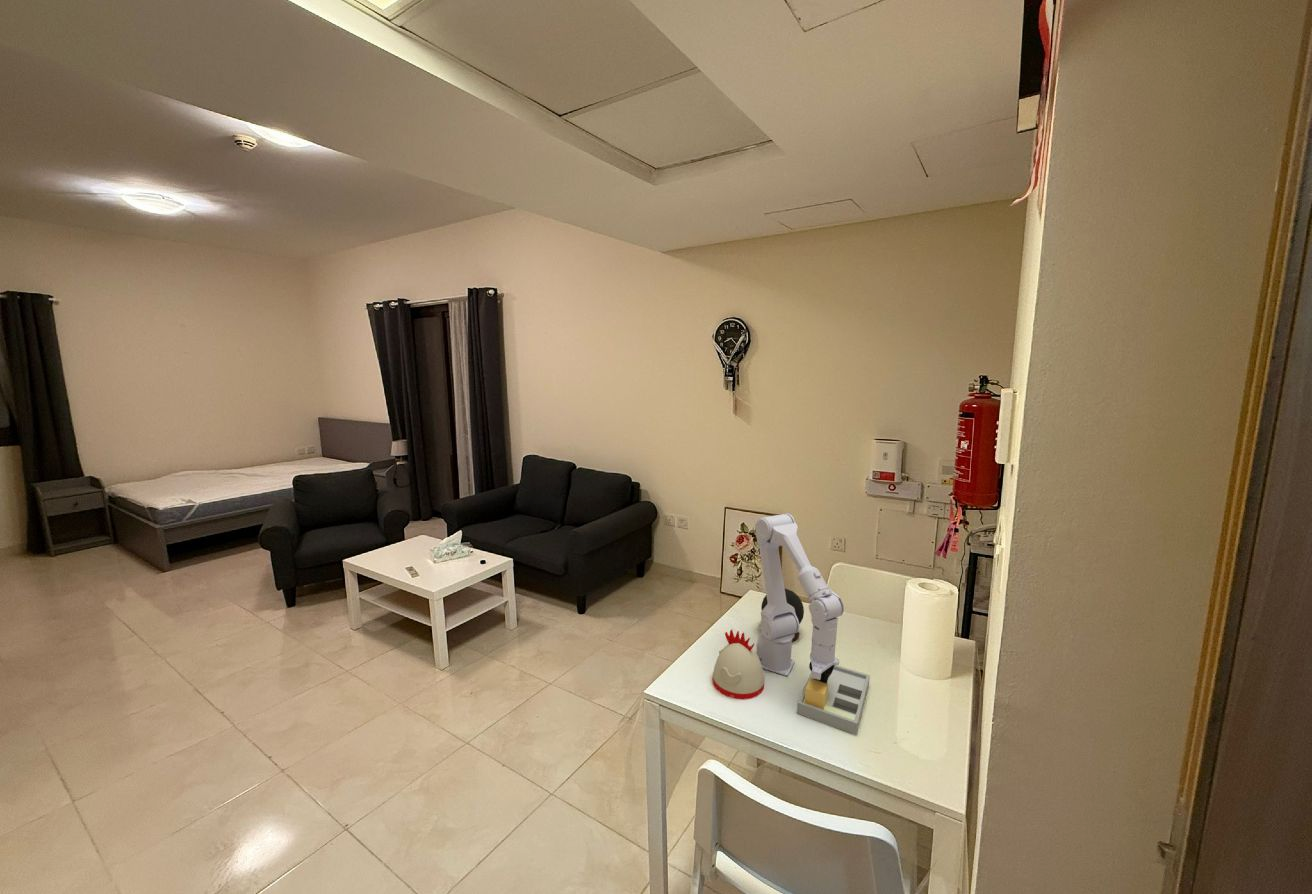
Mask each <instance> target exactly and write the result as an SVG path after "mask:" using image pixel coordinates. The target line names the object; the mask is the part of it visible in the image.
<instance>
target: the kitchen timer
mask: <svg viewBox="0 0 1312 894" xmlns="http://www.w3.org/2000/svg"><path fill="white" fill-rule="evenodd" d="M739 631H740V630H737V631H736V634H735V635H734V631H733V629H732V628H731V629H730V631H729V633H728V632H727V631H726V632H725V633H724V635H725V638H726V640H727V643H728V644H726V645H725V647H723V648H722V649H721V650H719V651H718V654H719V655H718V656H717V659H716V661H715V664H714V667H713V672H712V683H713V686H714V687H715V689H716V690H717V691H718V692H719V693H721V694H722V695H724V696H726V697H728V698H731V699H735V700H750V699H754V698H756V697H758V696H760V694H762V692H763V691H764V689H765V673H764V669H763V668H762V665H761V662H760V659H759V657H758V655H757V653H756V652H757V651H756V650H755V649H754V646H755V643H752V644H751V645H750V644H749V642H750V637H748V638H747V639H746V638H745V632H744V631H743V632H742V633H741V636H740V632H739ZM745 639H746V640H745Z"/></svg>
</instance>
